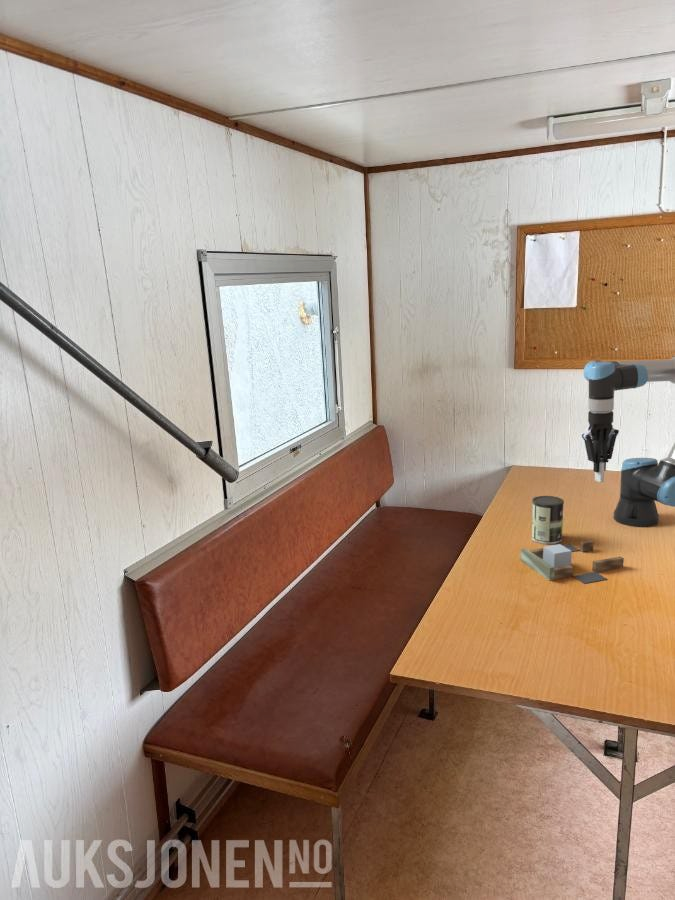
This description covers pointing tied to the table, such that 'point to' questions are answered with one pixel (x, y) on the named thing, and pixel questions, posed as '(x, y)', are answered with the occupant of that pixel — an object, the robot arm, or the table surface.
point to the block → (557, 555)
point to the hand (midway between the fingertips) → (599, 480)
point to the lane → (548, 571)
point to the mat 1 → (571, 547)
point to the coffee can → (547, 519)
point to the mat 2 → (589, 577)
